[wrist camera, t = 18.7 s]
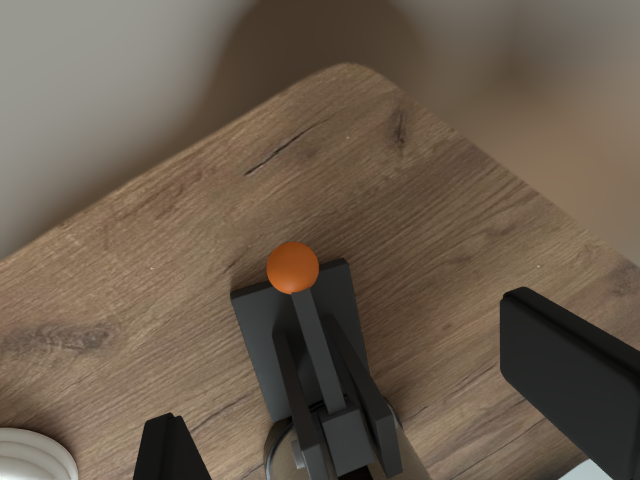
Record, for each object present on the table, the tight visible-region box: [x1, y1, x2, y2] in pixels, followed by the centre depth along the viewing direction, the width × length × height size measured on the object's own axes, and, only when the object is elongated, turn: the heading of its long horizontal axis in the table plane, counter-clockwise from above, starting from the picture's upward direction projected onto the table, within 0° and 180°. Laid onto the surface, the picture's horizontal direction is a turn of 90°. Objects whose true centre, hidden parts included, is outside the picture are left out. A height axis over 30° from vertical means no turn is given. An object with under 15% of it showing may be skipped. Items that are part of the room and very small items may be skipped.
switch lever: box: [266, 242, 375, 477], centre depth 21 cm, size 13×3×3 cm
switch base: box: [230, 258, 403, 480], centre depth 24 cm, size 12×9×12 cm
